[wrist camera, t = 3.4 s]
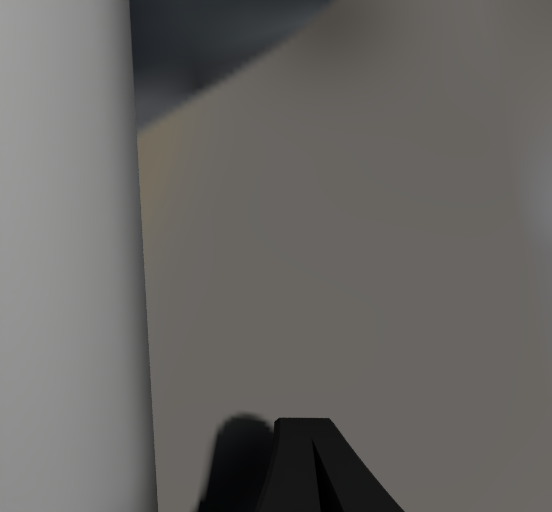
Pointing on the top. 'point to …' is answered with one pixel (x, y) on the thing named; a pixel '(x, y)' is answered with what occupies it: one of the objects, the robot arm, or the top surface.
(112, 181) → the tube
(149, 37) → the top surface
